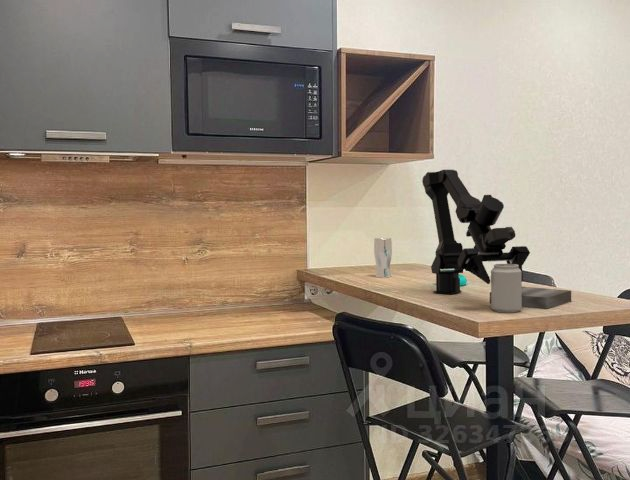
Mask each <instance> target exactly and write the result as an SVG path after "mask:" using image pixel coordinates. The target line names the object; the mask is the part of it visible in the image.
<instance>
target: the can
mask: <svg viewBox="0 0 630 480" xmlns="http://www.w3.org/2000/svg"><path fill="white" fill-rule="evenodd" d="M518 266H519V265H517V264H507V263H496V264H493V267H492V269H491V270H490V292H491V303H490V304H491V305H490V307H491V308H492V309H493V311H494V312H498V313H507V314H508V313H517V312H519V311H520V310H521V309H523V308H522V287H523V286H522V285H523V284H522V282H523V281H522V274H523V270H522V271H521V270H520V269H519V268H518Z"/></svg>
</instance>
